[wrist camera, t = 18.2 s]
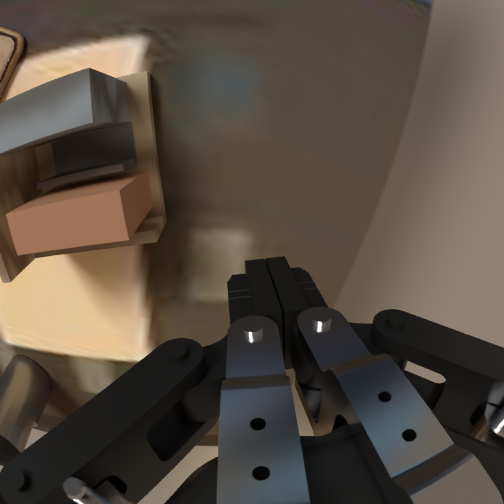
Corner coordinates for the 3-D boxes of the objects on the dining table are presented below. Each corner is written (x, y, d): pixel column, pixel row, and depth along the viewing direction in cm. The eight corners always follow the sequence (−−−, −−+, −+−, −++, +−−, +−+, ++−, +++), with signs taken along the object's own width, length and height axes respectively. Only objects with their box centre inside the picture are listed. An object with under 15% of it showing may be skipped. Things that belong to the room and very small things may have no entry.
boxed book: (153, 205, 31) (129, 240, 22) (61, 220, 30) (17, 255, 21) (147, 169, 30) (119, 190, 20) (54, 188, 29) (5, 214, 20)
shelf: (167, 220, 34) (144, 268, 23) (52, 237, 32) (3, 282, 22) (150, 73, 27) (114, 48, 16) (30, 108, 25) (-34, 112, 15)
